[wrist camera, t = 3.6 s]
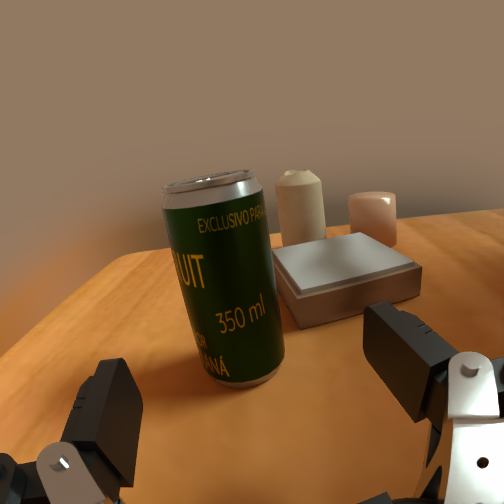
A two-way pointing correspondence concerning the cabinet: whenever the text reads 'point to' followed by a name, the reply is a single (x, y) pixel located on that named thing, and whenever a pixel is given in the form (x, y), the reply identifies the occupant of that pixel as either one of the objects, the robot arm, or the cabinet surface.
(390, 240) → the peach rounded cylinder
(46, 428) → the cabinet surface
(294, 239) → the candle
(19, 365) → the cabinet surface
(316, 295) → the podium
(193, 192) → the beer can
